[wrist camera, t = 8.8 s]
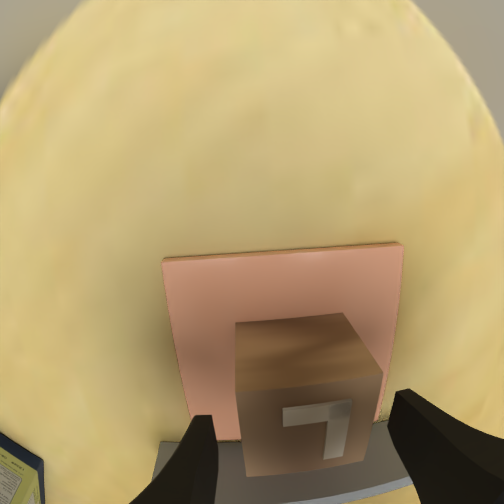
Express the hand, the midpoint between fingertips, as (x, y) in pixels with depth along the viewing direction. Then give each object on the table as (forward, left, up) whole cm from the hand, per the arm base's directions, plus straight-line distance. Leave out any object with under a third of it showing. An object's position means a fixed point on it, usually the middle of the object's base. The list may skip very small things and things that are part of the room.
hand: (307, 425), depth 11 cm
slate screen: (-4, +6, -5) cm, 9 cm away
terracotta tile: (0, 0, -5) cm, 5 cm away
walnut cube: (0, 0, -4) cm, 4 cm away
